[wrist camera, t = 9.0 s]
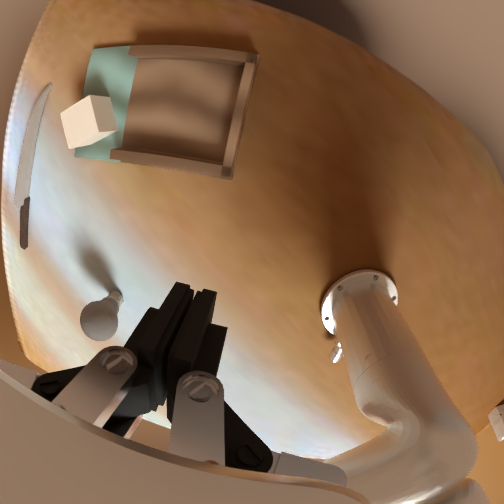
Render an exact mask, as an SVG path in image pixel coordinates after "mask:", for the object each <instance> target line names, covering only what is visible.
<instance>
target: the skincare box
mask: <svg viewBox="0 0 504 504" xmlns="http://www.w3.org/2000/svg"><path fill="white" fill-rule="evenodd" d="M488 417H489V420H490V422H491V424H492V426H493V429H494V431H495V434H496V436H497V439H498V441H500V440H503V439H504V404H502V405H500V406H496V407H495V408H494V409H493V410H492V411H491V412H490V413H489V414H488Z"/></svg>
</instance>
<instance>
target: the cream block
mask: <svg viewBox="0 0 504 504" xmlns="http://www.w3.org/2000/svg"><path fill="white" fill-rule="evenodd" d="M60 115H61V119H62V124H63V128H64V132H65V136H66V140H67V144H68V147H69V149H71V148H76V147H81V146H87V145H91V144H93V143H95V142H97V141H99V140H101V139H103V138H105V137H107V136H109V135H111V134H113V133H115V132H117V131H119V129H118V125H117V122H116V118H115V114H114V110H113V106H112V102H111V98H110V97H105V96H96V95H89V96H87V97H85V98H84V99H82V100H80V101H79V102H77V103H76V104H74V105H72V106H71V107H69V108H68V109H66V110H65V111H63V112H62V113H60Z"/></svg>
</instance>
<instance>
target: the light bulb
mask: <svg viewBox="0 0 504 504" xmlns="http://www.w3.org/2000/svg"><path fill="white" fill-rule="evenodd" d="M122 302H123V297H122V295H121V294H120V293H119V292H117V291H112V292H111V293H110V294H109V295H108V296H107V297H106V298H103V299H102V300H101V301H95V302H91V303H89V304H88V305H86V306H85V307H84V308H83V310H82V312H81V316H80V324H81V327H82V330H83V331H84V333H85V334H86V335H87V336H88V337H89V338H90V339H92V340H95V341H105V340H108V339H110V338H111V337H112V336H113V335H114V334H115V332H116V330H117V327H118V318H117V314H118V311H119V307H120V305H121V304H122Z"/></svg>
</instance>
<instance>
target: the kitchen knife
mask: <svg viewBox="0 0 504 504" xmlns="http://www.w3.org/2000/svg"><path fill="white" fill-rule="evenodd" d="M52 84H53V83H50V84H49V85H48V86H47V87H46V88H45V90H44V91H43V93H42V94H41V96H40V98H39V99H38V101H37V103H36V105H35V107H34V109H33V111H32V114H31V116H30V119H29V122H28V125H27V129H26V133H25V138H24V142H23V147H22V152H21V156H20V161H19V166H18V173H17V180H16V187H15V197H14V204H15V205H16V207H21V210H20V246H21V248H23V249H26V248H27V247H28V218H29V203H30V197H29V193H30V183H31V174H32V168H33V161H34V153H35V146H36V140H37V134H38V129H39V125H40V120H41V116H42V112H43V108H44V104H45V100H46V98H47V96H48V93H49V91H50V89H51V87H52Z"/></svg>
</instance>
